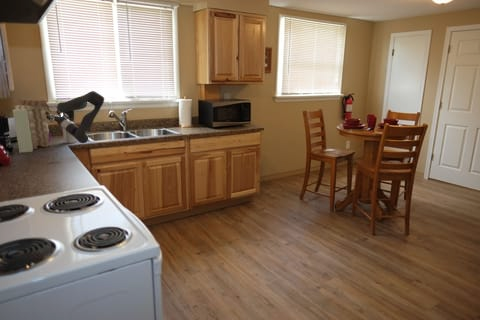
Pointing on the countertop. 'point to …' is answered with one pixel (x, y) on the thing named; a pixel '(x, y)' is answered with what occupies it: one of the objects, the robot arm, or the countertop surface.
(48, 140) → the candy bar box
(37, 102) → the walnut bar
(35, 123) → the tan egg carton
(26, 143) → the sage post
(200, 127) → the countertop surface
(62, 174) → the countertop surface
